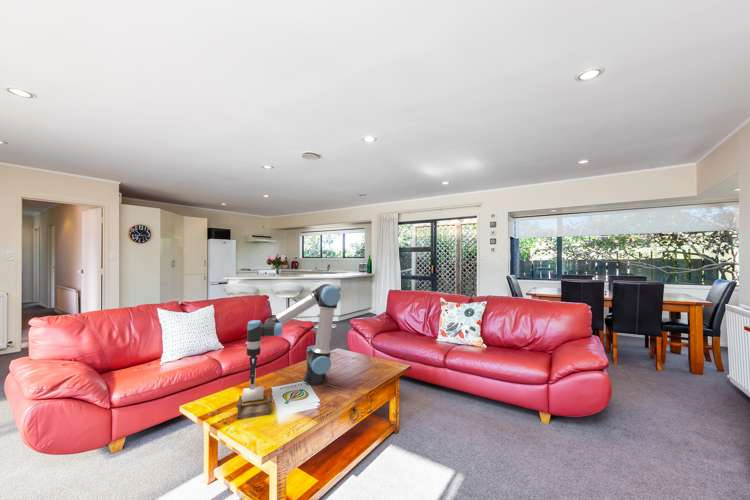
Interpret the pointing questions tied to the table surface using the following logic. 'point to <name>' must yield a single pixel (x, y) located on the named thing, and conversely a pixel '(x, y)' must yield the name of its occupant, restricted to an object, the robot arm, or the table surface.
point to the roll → (253, 394)
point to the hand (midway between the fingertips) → (252, 384)
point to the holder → (253, 408)
